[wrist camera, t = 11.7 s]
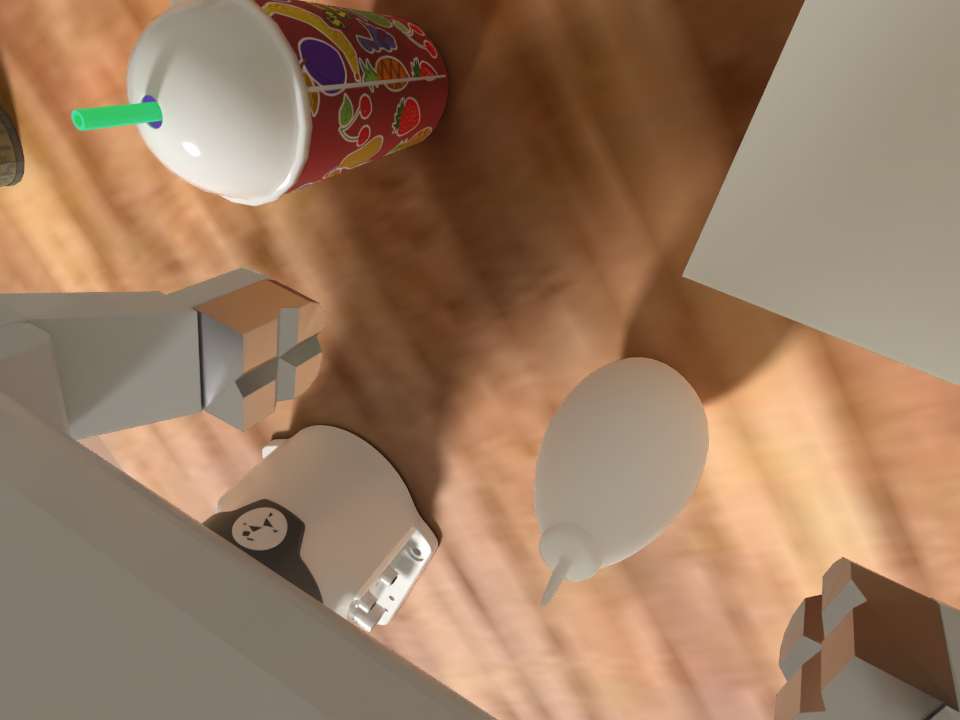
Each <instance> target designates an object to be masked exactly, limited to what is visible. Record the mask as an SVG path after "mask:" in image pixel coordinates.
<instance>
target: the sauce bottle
mask: <svg viewBox="0 0 960 720" xmlns="http://www.w3.org/2000/svg"><path fill="white" fill-rule="evenodd" d="M708 445H709V432H708V423H707V417H706V414H705V411H704V408H703V406H702V403H701V401H700V399H699V397H698V395H697V394H696V392H695V391H694V389H693V387H692V386H691V385H690V384H689V383H688V382H687V380H686V379H685V378H684V377H683V376H682V375H681V374H679V373H678V372H677V371H676V370H675V369H673V368H671V367H670V366H668V365H666V364H665V363H662V362H660V361H657V360H654V359H649V358H644V357H634V358H626V359H622V360H617V361H614V362H612V363H609V364H607V365H605V366H603V367H601V368H599V369H597V370H596V371H594V372H593V373H591V374H590V375H589V376H587V377H586V378H584V379H583V380H582V381H581V382H580V383H579V384H578V385H577V386H576V387H575V388H574V389H573V390H572V391H571V392H570V393H569V394H568V395H567V397H566V398H565V399H564V400H563V402H562V403H561V405H560V406H559V408H558V410H557V411H556V413H555V415H554V416H553V418H552V420H551V421H550V423H549V425H548V427H547V430H546V432H545V435H544V438H543V441H542V445H541V448H540V451H539V454H538V459H537V464H536V471H535V484H534V503H535V512H536V517H537V522H538V526H539V529H540V532H541V534H542V537H541V539H540V542H539V550H540V554H541V556H542V558H543V560H544V562H545V563H546V564H547V565H548V567H549V568H550V569H551V570H553V571H554V572H553V574H552V576H551V578H550V580H549V583H548V585H547V587H546V590H545V592H544V595H543V598H542V602H541V606H542V607H545V606H546V605H547V604H548V603H549V601H550V600H551V598H552V597H553V595H554V594H555V592H556V591H557V589H558V587H559V586H560V584H561V582H562V580H563V578H565V579H568V580H572V581H582V580H586V579H588V578H590V577H592V576H593V575H595V574H596V572H597V571H598V570H599V569H600V568H602V567H607V566H610V565H612V564H615V563H617V562H619V561H622V560H624V559H626V558H628V557H630V556H631V555H633V554H635V553H636V552H638V551H639V550H641V549H642V548H643V547H645V546H646V545H648V544H649V543H650V542H652V541H653V540H654V539H655V538H657V537H658V536H659V535H660V534H661V533H662V532H663V531H664V530H665V529H666V528H667V527H668V526H669V525H670V524H671V523H672V522H673V520H674V519H675V518H676V517H677V516H678V515H679V514H680V512H681V511H682V510H683V508H684V507H685V506H686V504H687V503H688V501H689V499H690V498H691V496H692V494H693V492H694V490H695V488H696V486H697V484H698V482H699V480H700V478H701V475H702V473H703V470H704V466H705V462H706V457H707V452H708Z"/></svg>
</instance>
